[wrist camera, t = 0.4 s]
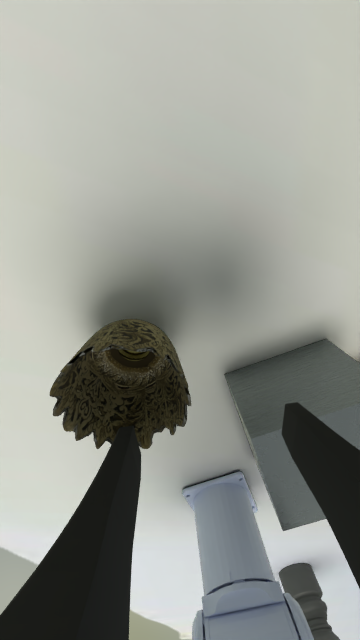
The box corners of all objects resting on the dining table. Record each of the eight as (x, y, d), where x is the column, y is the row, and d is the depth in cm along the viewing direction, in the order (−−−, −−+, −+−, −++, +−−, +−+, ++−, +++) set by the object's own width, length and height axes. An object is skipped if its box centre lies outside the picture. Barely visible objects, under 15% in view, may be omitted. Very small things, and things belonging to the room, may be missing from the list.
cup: (123, 384, 22) (105, 470, 14) (72, 323, 19) (16, 392, 11) (193, 349, 21) (212, 422, 13) (151, 278, 18) (146, 323, 10)
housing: (335, 433, 27) (389, 500, 21) (254, 459, 28) (283, 531, 22) (326, 338, 21) (397, 391, 15) (224, 374, 22) (250, 438, 16)
